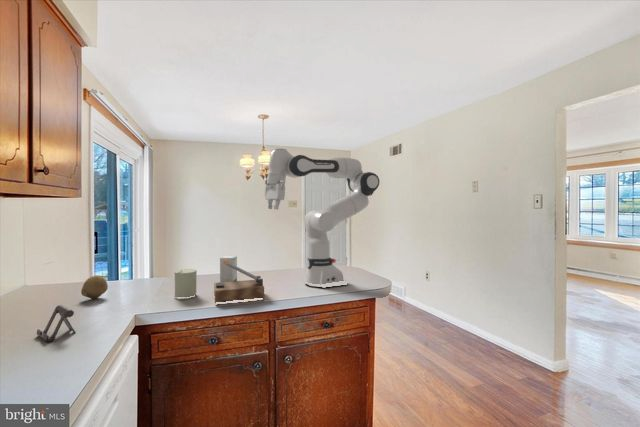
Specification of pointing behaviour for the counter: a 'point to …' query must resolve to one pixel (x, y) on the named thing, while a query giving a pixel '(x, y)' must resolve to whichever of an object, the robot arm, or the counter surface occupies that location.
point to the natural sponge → (94, 287)
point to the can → (185, 282)
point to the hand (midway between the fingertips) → (272, 209)
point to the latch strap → (239, 269)
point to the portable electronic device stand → (64, 314)
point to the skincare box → (228, 269)
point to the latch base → (238, 290)
